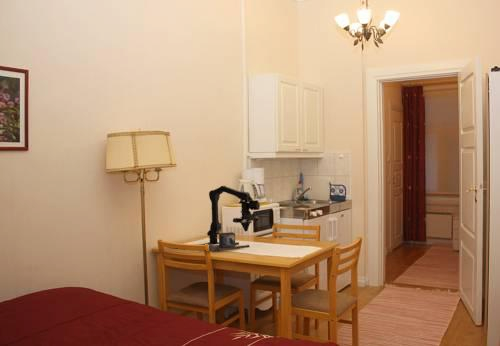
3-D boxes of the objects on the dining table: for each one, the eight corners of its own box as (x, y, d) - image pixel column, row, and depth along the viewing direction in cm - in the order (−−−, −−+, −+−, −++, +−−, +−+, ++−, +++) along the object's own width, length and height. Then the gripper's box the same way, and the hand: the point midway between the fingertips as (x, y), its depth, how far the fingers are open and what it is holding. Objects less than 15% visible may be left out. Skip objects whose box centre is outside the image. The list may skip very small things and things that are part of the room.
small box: (221, 249, 324) (220, 234, 324) (218, 248, 330) (218, 233, 330) (235, 248, 327) (235, 233, 327) (233, 246, 334) (232, 232, 333)
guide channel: (205, 248, 329) (205, 244, 328) (238, 244, 343) (238, 240, 343) (216, 251, 316) (215, 247, 316) (249, 247, 331) (249, 242, 331)
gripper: (240, 211, 326) (241, 234, 326) (262, 209, 336) (263, 231, 336) (232, 210, 335) (232, 232, 335) (253, 208, 345) (254, 229, 346)
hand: (246, 231), depth 338 cm, fingers closed
